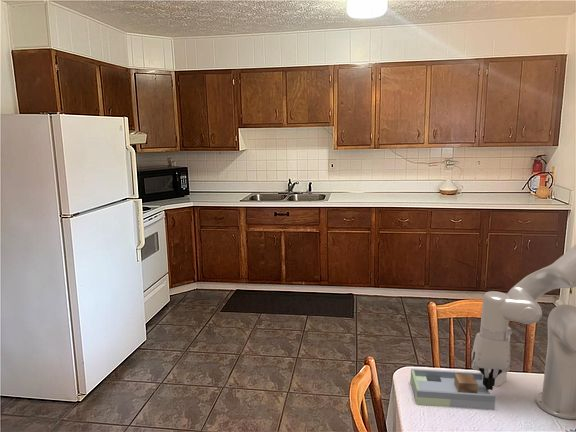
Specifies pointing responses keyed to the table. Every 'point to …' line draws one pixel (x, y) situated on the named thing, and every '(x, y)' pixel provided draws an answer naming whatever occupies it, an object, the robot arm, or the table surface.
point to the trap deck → (448, 390)
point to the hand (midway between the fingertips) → (488, 387)
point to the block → (465, 383)
